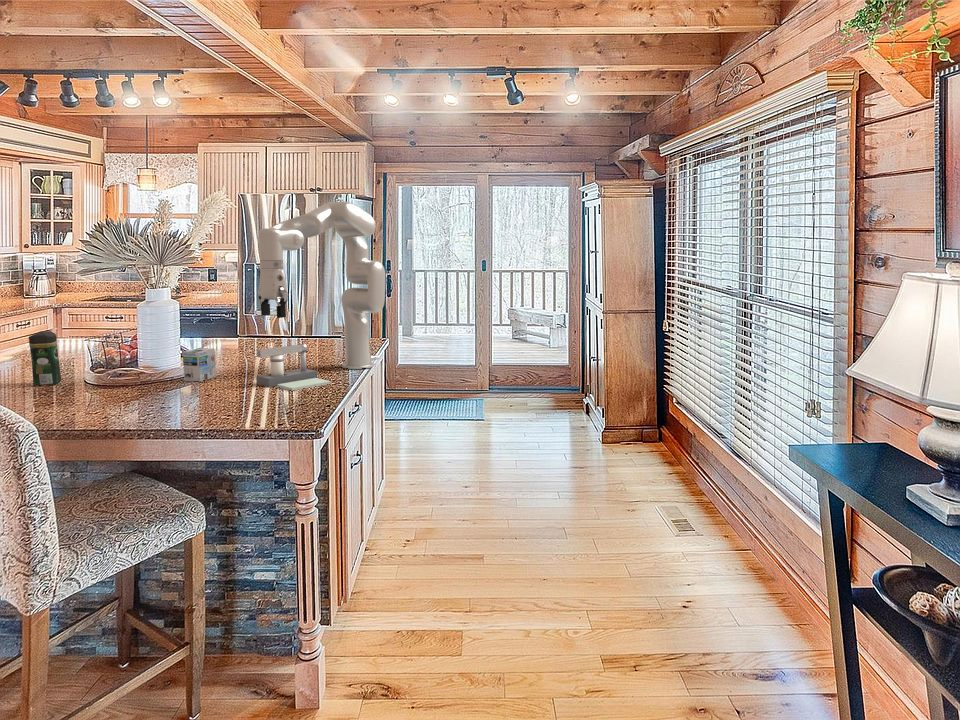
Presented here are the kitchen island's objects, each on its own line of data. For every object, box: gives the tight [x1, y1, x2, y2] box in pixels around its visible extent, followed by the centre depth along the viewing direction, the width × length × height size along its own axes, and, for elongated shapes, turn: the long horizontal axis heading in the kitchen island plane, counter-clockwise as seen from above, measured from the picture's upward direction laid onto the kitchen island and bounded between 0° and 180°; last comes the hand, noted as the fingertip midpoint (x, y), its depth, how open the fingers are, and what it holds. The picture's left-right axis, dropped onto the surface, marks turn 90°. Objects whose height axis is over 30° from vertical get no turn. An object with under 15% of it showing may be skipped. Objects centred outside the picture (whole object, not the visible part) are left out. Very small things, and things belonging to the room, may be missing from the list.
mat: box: [276, 377, 332, 392], centre depth 252 cm, size 16×9×1 cm, turn 138°
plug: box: [269, 354, 285, 377], centre depth 255 cm, size 4×4×10 cm
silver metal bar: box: [256, 343, 308, 358], centre depth 256 cm, size 19×3×2 cm, turn 138°
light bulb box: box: [182, 347, 217, 383], centre depth 262 cm, size 11×7×11 cm, turn 168°
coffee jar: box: [28, 330, 62, 386], centre depth 251 cm, size 10×8×19 cm
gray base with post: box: [255, 351, 318, 388], centre depth 258 cm, size 20×8×10 cm, turn 138°
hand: (273, 316), depth 245 cm, fingers open, 9 cm apart
